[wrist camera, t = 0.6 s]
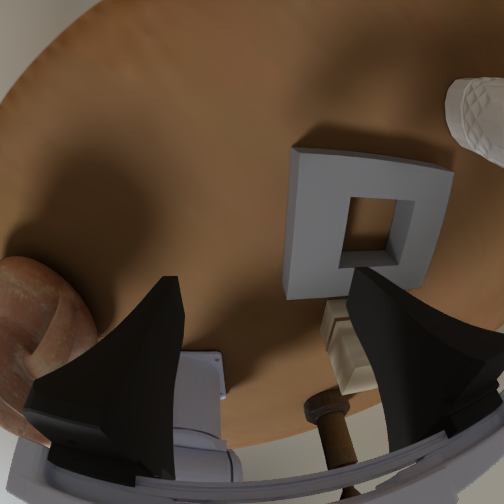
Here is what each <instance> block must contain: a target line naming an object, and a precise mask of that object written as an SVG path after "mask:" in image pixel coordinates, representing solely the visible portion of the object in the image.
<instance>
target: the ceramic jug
mask: <svg viewBox="0 0 504 504" xmlns="http://www.w3.org/2000/svg"><path fill="white" fill-rule="evenodd" d="M97 343H98V335H97V329H96V325H95V322H94V320H93V317H92V315H91V313H90V311H89V309H88V308H87V306H86V304H85V303H84V301H83V300H82V298H81V297H80V295H79V294H78V293H77V292H76V290H75V289H74V288H73V287H72V286H71V285H70V284H69V283H68V282H67V281H66V280H65V279H64V278H62V277H61V276H60V275H59V274H58V273H56V272H55V271H54V270H52V269H51V268H49V267H47V266H46V265H44V264H42V263H40V262H38V261H36V260H34V259H31V258H27V257H22V256H12V257H7V258H3V259H1V260H0V427H2V428H3V429H5V430H7V431H8V432H10V433H12V434H14V435H16V436H18V437H19V436H23V437H25V438H28V439H30V440H33V441H35V442H37V443H40V444H42V445H44V446H47V447H50V446H51V441H50V440H49V439H47V438H46V437H45V436H44V435H42V434H41V433H40V432H39V431H38V430H37V429H36V428H34V427H33V426H32V425H31V424H30V423H29V422H28V421H27V420H26V418H25V417H24V415H23V411H22V410H23V407H24V404H25V402H26V399H27V397H28V394H29V392H30V389H31V387H32V385H33V382H34V380H35V379H38V378H40V377H42V376H44V375H46V374H48V373H50V372H52V371H54V370H56V369H58V368H60V367H62V366H64V365H65V364H67V363H69V362H71V361H72V360H74V359H75V358H77V357H79V356H80V355H82V354H83V353H84V352H86V351H87V350H89V349H90V348H91V347H93V346H94V345H95V344H97Z"/></svg>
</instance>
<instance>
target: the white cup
mask: <svg viewBox="0 0 504 504" xmlns="http://www.w3.org/2000/svg"><path fill="white" fill-rule="evenodd" d="M445 114H446V122H447V125H448V127H449V130H450V133H451V135H452V137H453V138H454V139H455V140H456V141H457V142H458V144H459V145H460V146H462V147H464V148H466V149H469V150H471V151H473V152H476V153H477V154H480V155H481V156H483V157H484V158H485V159H487V160H489V161H491V162H493V163H495V164H496V165H499V166H500V167H502V168H503V169H504V78H492V77H491V78H489V77H480V78H462V79H457V80H455V81H454V82H453V83H452V85H451V86H450V87H449V88H448V91H447V95H446V100H445Z"/></svg>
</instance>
